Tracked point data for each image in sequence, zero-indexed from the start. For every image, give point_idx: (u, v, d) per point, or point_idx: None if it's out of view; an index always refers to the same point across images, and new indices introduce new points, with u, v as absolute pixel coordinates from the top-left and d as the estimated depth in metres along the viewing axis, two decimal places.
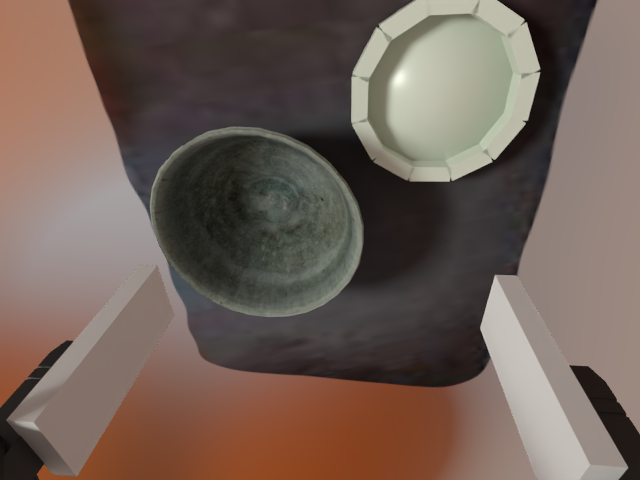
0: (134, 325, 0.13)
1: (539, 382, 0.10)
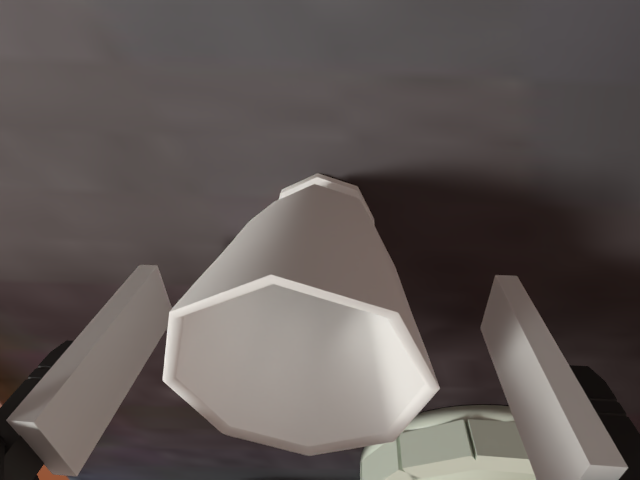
0: (134, 325, 0.13)
1: (539, 382, 0.10)
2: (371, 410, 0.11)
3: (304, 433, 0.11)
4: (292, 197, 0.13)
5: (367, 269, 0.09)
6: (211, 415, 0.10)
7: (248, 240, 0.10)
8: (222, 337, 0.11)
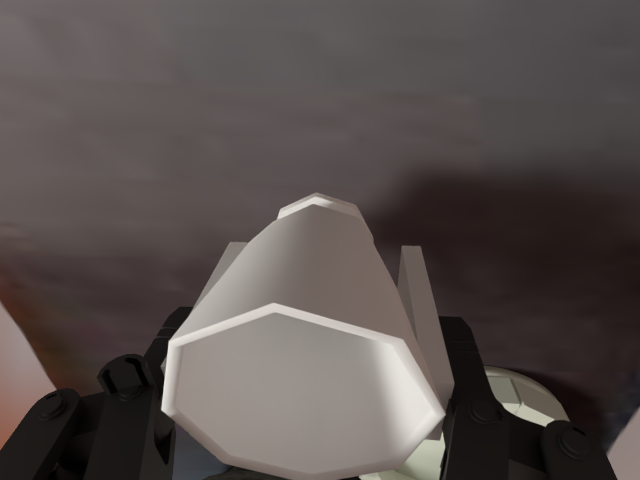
0: None
1: (413, 328, 0.12)
2: (375, 435, 0.10)
3: (307, 460, 0.11)
4: (291, 217, 0.13)
5: (370, 293, 0.08)
6: (210, 443, 0.10)
7: (248, 263, 0.10)
8: (222, 362, 0.11)
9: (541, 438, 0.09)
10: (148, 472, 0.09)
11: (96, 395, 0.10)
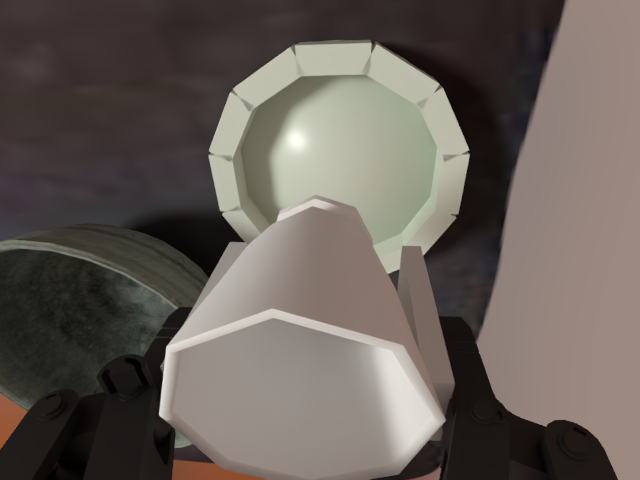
0: None
1: (413, 328, 0.12)
2: (375, 440, 0.10)
3: (306, 465, 0.11)
4: (290, 220, 0.13)
5: (369, 298, 0.08)
6: (209, 449, 0.10)
7: (247, 267, 0.10)
8: (220, 366, 0.11)
9: (542, 438, 0.09)
10: (148, 472, 0.09)
11: (96, 395, 0.10)
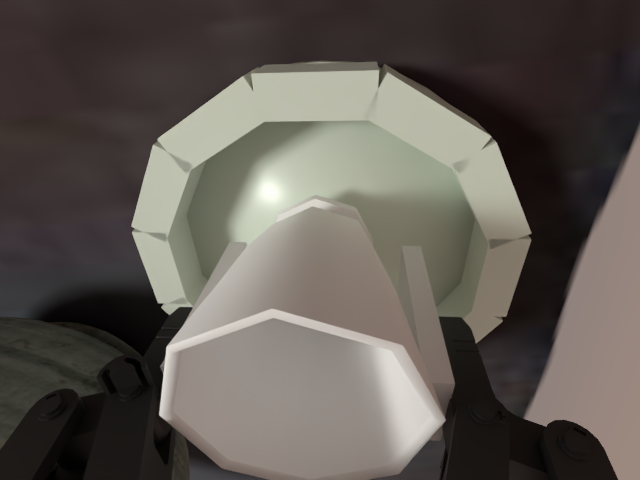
0: None
1: (413, 328, 0.12)
2: (375, 440, 0.10)
3: (306, 465, 0.11)
4: (290, 220, 0.13)
5: (369, 298, 0.08)
6: (209, 449, 0.10)
7: (247, 267, 0.10)
8: (220, 366, 0.11)
9: (542, 438, 0.09)
10: (148, 472, 0.09)
11: (95, 395, 0.10)
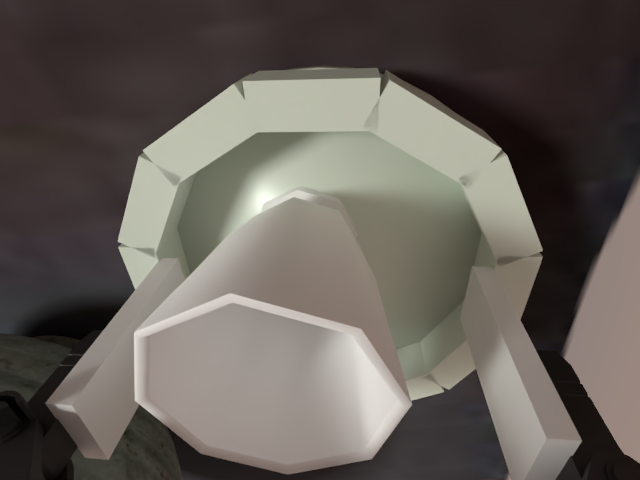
0: None
1: (507, 365, 0.10)
2: (351, 426, 0.11)
3: (283, 451, 0.11)
4: (270, 211, 0.13)
5: (334, 284, 0.08)
6: (186, 434, 0.10)
7: (220, 256, 0.10)
8: (199, 354, 0.11)
9: None
10: None
11: None
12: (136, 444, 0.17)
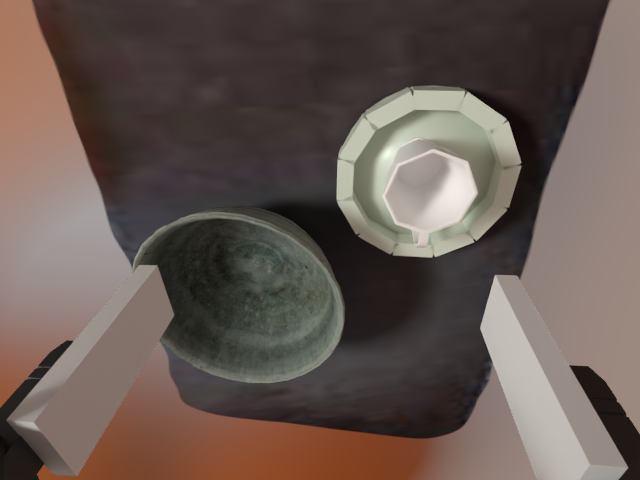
0: (134, 325, 0.13)
1: (539, 382, 0.10)
2: (450, 216, 0.29)
3: (424, 227, 0.29)
4: (412, 142, 0.31)
5: (455, 154, 0.27)
6: (393, 213, 0.29)
7: (408, 151, 0.29)
8: (391, 192, 0.30)
9: None
10: None
11: None
12: (327, 260, 0.35)
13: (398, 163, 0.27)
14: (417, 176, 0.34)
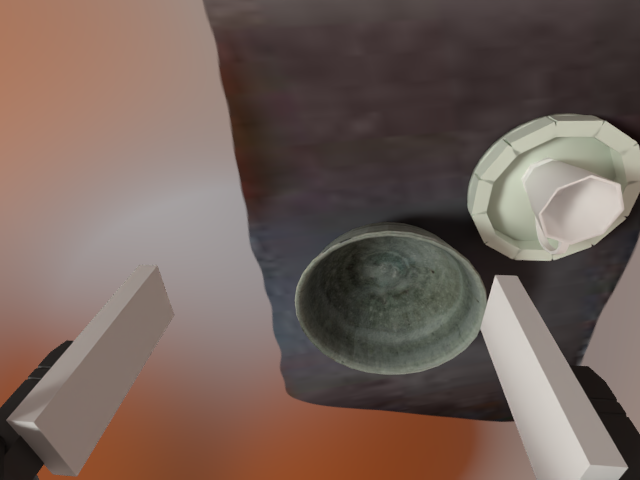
0: (134, 325, 0.13)
1: (539, 382, 0.10)
2: (592, 228, 0.34)
3: (568, 238, 0.34)
4: (549, 164, 0.36)
5: (603, 177, 0.32)
6: (545, 228, 0.34)
7: (556, 174, 0.34)
8: None
9: None
10: None
11: None
12: None
13: (557, 187, 0.32)
14: None
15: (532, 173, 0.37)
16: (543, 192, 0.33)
